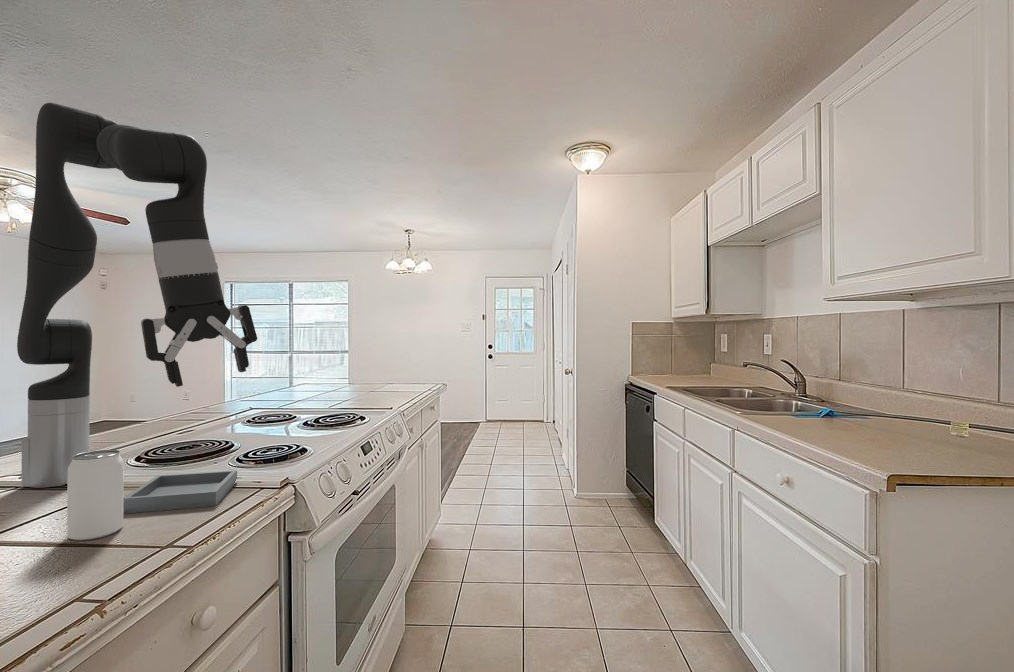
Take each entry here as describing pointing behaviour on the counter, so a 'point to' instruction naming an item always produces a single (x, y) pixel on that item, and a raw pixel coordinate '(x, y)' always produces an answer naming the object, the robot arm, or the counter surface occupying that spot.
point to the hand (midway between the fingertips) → (211, 378)
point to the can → (94, 495)
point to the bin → (180, 491)
